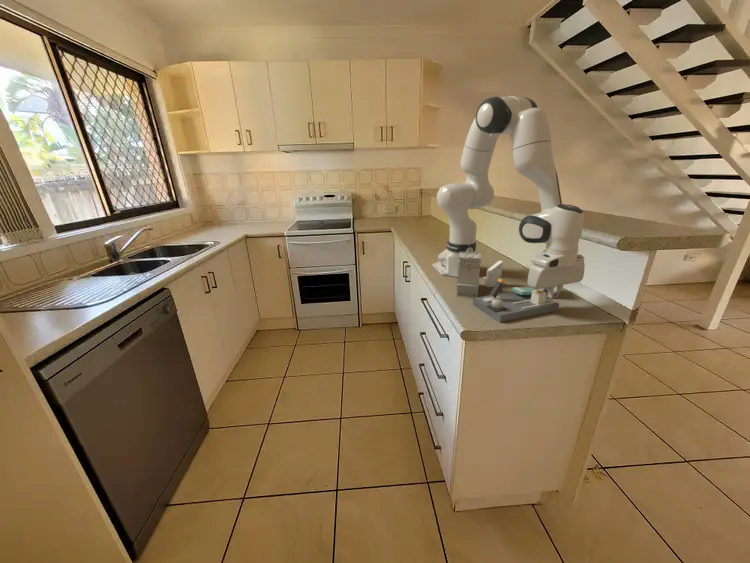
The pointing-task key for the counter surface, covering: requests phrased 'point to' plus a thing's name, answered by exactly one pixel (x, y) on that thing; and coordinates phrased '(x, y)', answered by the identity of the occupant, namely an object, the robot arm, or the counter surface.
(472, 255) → the circuit breaker
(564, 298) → the counter surface
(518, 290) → the teal tile cream strip
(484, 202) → the robot arm
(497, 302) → the button
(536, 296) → the cream cube orange stripe
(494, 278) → the white angled block
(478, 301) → the panel
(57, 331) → the counter surface
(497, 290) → the toggle lever
